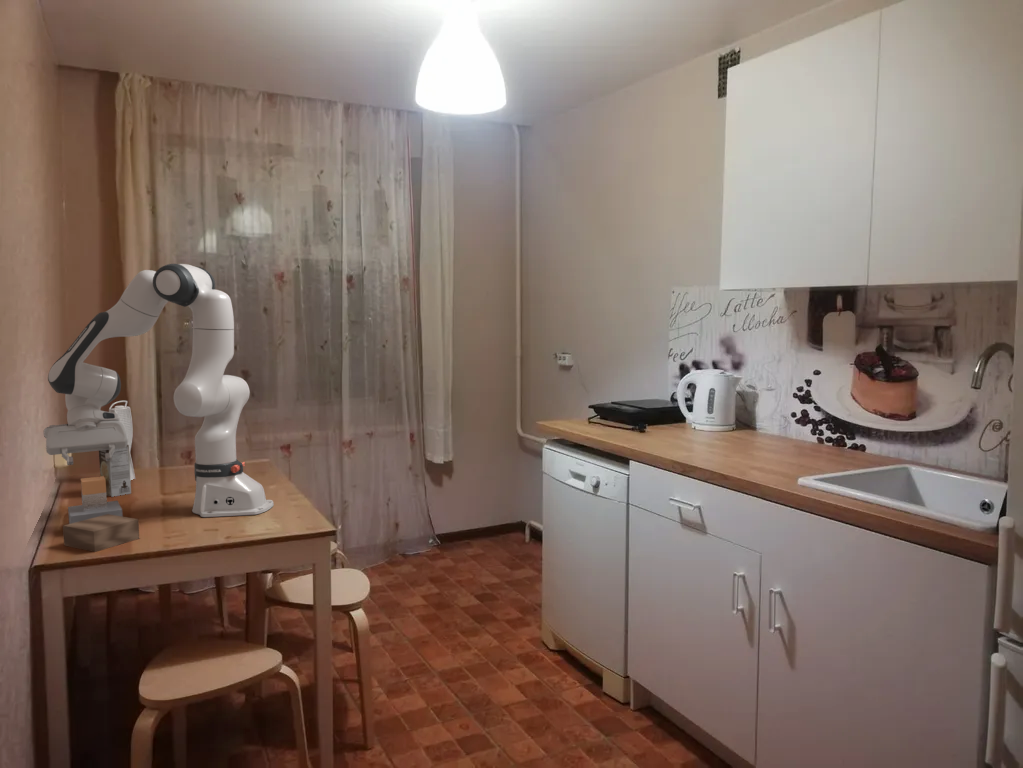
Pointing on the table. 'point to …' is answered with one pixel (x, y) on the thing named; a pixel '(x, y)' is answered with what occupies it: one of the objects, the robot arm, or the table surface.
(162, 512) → the table surface
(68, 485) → the table surface
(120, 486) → the coffee box
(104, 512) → the stand
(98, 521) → the stand
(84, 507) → the housing base
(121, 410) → the skyscraper
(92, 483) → the cover
